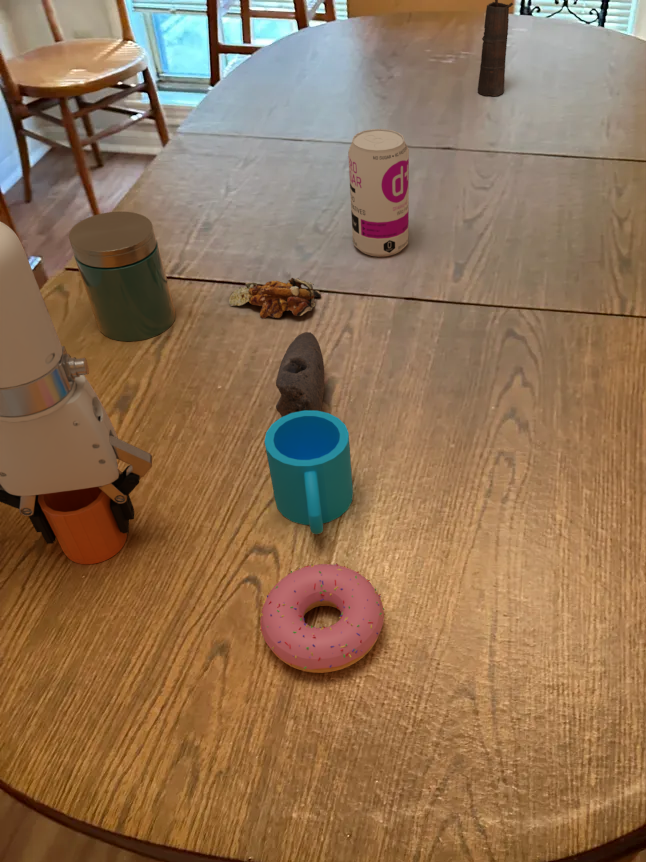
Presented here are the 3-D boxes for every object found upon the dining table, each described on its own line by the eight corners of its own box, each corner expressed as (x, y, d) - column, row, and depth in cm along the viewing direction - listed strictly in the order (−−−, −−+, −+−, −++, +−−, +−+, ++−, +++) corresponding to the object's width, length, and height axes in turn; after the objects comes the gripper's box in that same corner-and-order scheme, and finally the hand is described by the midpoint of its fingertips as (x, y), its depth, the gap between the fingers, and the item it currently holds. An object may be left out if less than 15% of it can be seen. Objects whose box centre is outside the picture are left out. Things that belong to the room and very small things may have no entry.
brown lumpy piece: (237, 287, 109) (233, 263, 106) (322, 293, 108) (320, 269, 105) (222, 315, 104) (217, 291, 102) (311, 322, 103) (308, 298, 100)
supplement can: (419, 244, 117) (421, 138, 105) (380, 264, 113) (378, 158, 101) (380, 225, 120) (378, 122, 109) (341, 245, 116) (335, 139, 105)
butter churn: (525, 87, 158) (544, -89, 137) (510, 103, 152) (527, -77, 131) (482, 80, 160) (494, -93, 139) (465, 96, 155) (475, -82, 134)
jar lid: (71, 271, 92) (65, 255, 91) (77, 231, 99) (72, 215, 97) (156, 263, 93) (151, 246, 92) (157, 224, 100) (153, 208, 98)
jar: (95, 345, 100) (66, 261, 91) (100, 303, 106) (73, 220, 98) (175, 336, 101) (154, 252, 92) (175, 295, 108) (155, 212, 99)
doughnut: (238, 645, 70) (230, 618, 67) (311, 564, 76) (307, 536, 73) (339, 703, 66) (335, 676, 63) (407, 612, 72) (407, 584, 69)
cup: (60, 568, 76) (34, 519, 70) (65, 522, 80) (41, 472, 74) (126, 559, 76) (105, 510, 71) (128, 513, 80) (108, 464, 75)
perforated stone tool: (291, 360, 98) (285, 312, 92) (334, 361, 98) (329, 312, 92) (274, 441, 88) (265, 391, 83) (321, 442, 88) (315, 393, 82)
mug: (273, 473, 84) (263, 414, 78) (349, 465, 85) (344, 406, 79) (277, 558, 77) (266, 499, 70) (361, 548, 77) (357, 490, 71)
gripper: (133, 339, 67) (179, 489, 80) (-82, 363, 64) (2, 513, 78) (130, 394, 62) (179, 543, 75) (-103, 422, 60) (-9, 570, 73)
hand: (89, 526), depth 77 cm, fingers closed on cup, 6 cm apart
